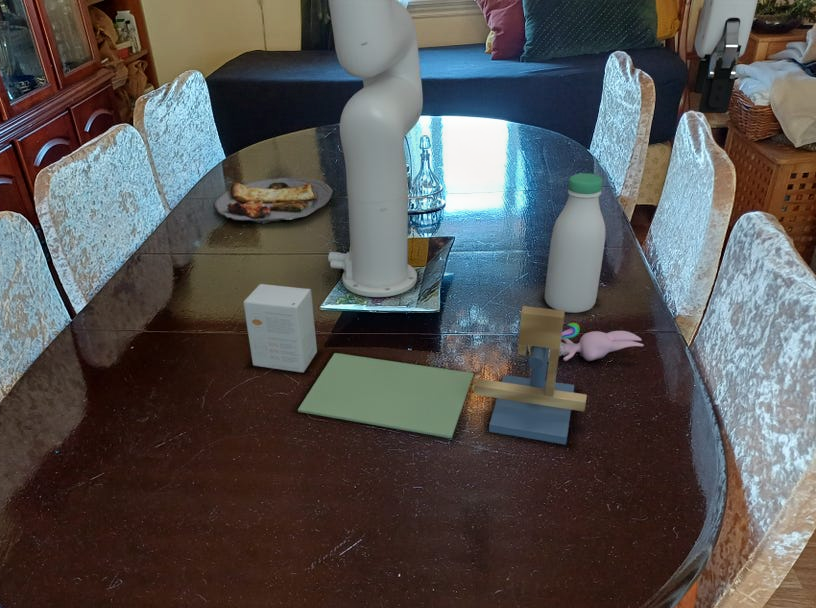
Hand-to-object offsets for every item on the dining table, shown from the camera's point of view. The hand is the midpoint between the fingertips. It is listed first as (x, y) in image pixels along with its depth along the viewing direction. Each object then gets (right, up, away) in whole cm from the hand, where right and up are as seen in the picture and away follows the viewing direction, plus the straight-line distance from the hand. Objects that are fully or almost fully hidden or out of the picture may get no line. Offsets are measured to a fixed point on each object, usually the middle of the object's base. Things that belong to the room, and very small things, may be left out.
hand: (709, 102), depth 92 cm
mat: (-40, -37, +4) cm, 55 cm away
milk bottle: (-11, -24, +22) cm, 34 cm away
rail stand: (-23, -39, -1) cm, 45 cm away
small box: (-55, -33, +12) cm, 65 cm away
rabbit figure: (-13, -33, +8) cm, 36 cm away
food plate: (-61, 0, +63) cm, 88 cm away
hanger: (-24, -37, -4) cm, 45 cm away
